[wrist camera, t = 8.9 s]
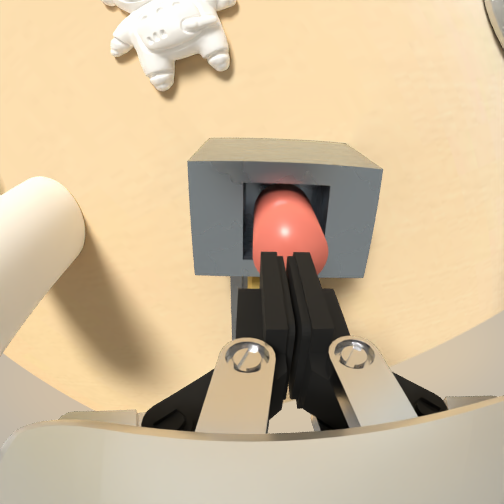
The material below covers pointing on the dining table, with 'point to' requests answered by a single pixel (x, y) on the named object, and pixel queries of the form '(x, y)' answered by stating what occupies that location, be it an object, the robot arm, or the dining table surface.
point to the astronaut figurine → (171, 35)
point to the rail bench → (264, 175)
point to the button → (287, 225)
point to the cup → (34, 247)
